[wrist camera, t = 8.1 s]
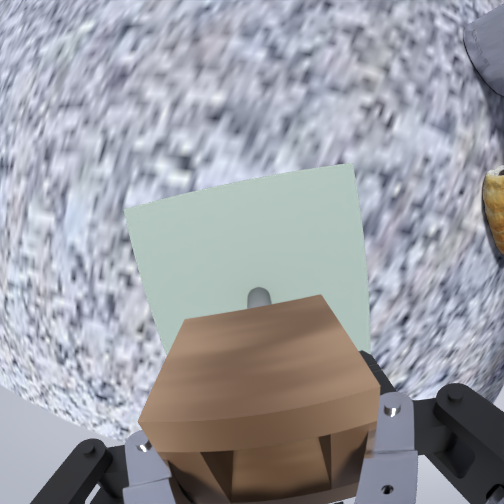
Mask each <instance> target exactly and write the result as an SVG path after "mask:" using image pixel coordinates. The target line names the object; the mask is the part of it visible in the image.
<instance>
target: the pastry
mask: <svg viewBox="0 0 504 504" xmlns="http://www.w3.org/2000/svg"><path fill="white" fill-rule="evenodd" d="M483 200H484V203H485V213H486V216H487V220H488V222H489V227H490V229H491V232H492V235H493V238H494V241H495V244H496V247H497V248H498V249H499V251H500V252H501V253H502V254H503V255H504V165H501V166H499V167H498V168H496V170H495V171H494V170H490V171H488V172H487V174H486V177H485V182H484V186H483Z"/></svg>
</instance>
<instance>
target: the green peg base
mask: <svg viewBox="0 0 504 504" xmlns="http://www.w3.org/2000/svg"><path fill="white" fill-rule="evenodd" d="M124 213H125V217H126V222H127V226H128V231H129V235H130V239H131V243H132V247H133V251H134V255H135V258H136V262H137V266H138V269H139V273H140V276H141V280H142V283H143V287H144V290H145V293H146V296H147V300H148V303H149V306H150V309H151V312H152V315H153V318H154V321H155V324H156V327H157V330H158V333H159V336H160V338H161V341H162V344H163V347H164V349H165V352H166V355H168V353H169V351H170V349H171V347H172V345H173V343H174V340H175V338H176V336H177V334H178V332H179V330H180V328H181V326H182V324H183V321H184V319H189V318H195V317H202V316H208V315H214V314H220V313H226V312H232V311H238V310H244V309H249V308H255V307H260V306H265V305H271V304H276V303H281V302H286V301H291V300H296V299H301V298H305V297H310V296H315V295H319V294H321V295H322V296H323V298H324V299H325V301H326V302H327V304H328V305H329V307H330V308H331V310H332V311H333V313H334V314H335V316H336V317H337V319H338V320H339V322H340V323H341V325H342V326H343V328H344V329H345V331H346V333H347V334H348V336H349V337H350V339H351V340H352V342H353V343H354V345H355V346H356V348H357V350H358V351H361V350H363V351H365V352H367V353H369V354H370V311H369V291H368V277H367V265H366V254H365V244H364V235H363V227H362V219H361V212H360V205H359V198H358V192H357V186H356V180H355V174H354V169H353V164H352V163H348V164H340V165H333V166H326V167H319V168H312V169H306V170H300V171H293V172H288V173H282V174H276V175H270V176H265V177H260V178H254V179H249V180H244V181H239V182H234V183H230V184H225V185H220V186H216V187H211V188H207V189H202V190H198V191H193V192H189V193H185V194H181V195H177V196H173V197H169V198H165V199H161V200H157V201H153V202H149V203H146V204H142V205H138V206H135V207H131V208H128V209H124Z"/></svg>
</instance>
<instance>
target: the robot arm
mask: <svg viewBox="0 0 504 504" xmlns="http://www.w3.org/2000/svg"><path fill="white" fill-rule="evenodd" d="M463 38H464V42H465V46H466V49H467V52H468V54H469V56H470V58H471V60H472V62H473V64H474V66H475V67H476V69H477V71H478V72H479V74H480V75H481V76H482V78H483V79H484V80H485V82H486V83H487V84H488V85H489V86H490V87H491V88H492V89H493V90H494V91H495V92H497V93H498V94H500V95H502V96H504V4H502V5H500V6H499V7H497V8H495V9H493V10H492V11H490V12H488V13H486V14H485V15H483V16H481V17H480V18H478V19H476V20H475V21H473V22H472V23H470V24H468V25H467V26H466V27H465V28H464V32H463ZM359 353H360V354H361V356H362V357H363V359H364V361H365V362H366V364H367V365H368V367H369V369H370V370H371V372H372V373H373V375H374V376H375V378H376V380H377V381H378V383H379V385H380V386H381V387H380V400H379V410H378V419H377V428H376V429H375V430H372V431H369V432H368V439H367V445H366V451H365V455H364V460H363V466H362V471H361V476H360V481H359V485H358V490H357V494H356V499H355V503H354V504H415V503H416V491H417V473H418V455H425V456H426V457H427V458H428V459H429V460H430V461H431V462H432V463H433V465H434V466H435V467H436V468H437V469H438V470H439V471H440V472H441V473H442V474H443V475H444V476H445V477H446V478H447V479H448V481H449V482H451V484H452V485H453V486H454V487H455V488H456V489H457V490H458V491H459V492H460V493H461V494H462V495H463V497H464V498H465V499H466V500H467V501H468V502H469V503H470V504H504V412H503V411H501V410H500V409H499V408H497V407H496V406H495V405H493V404H492V403H490V402H489V401H488V400H486V399H485V398H483V397H482V396H481V395H479V394H478V393H476V392H475V391H474V390H472V389H471V388H469V387H468V386H466V385H464V384H460V383H452V384H448V385H446V386H444V387H442V388H441V389H440V390H439V391H438V393H437V395H436V398H432V399H425V400H412V399H411V398H410V397H409V396H407V395H406V394H403V393H400V392H396V390H395V389H394V387H393V386H392V384H391V383H390V381H389V380H388V378H387V377H386V375H385V374H384V372H383V371H382V370H381V368H380V367H379V365H378V364H377V362H376V361H375V359H374V358H373V356H372V355H370V354H369V353H367V352H365V351H363V350H361V351H359ZM96 484H98V485H99V486H100V487H101V488H100V489H99V491H98V492H97V494H96V495H95V497H94V498H93V500H92V501H91V503H90V504H198V503H197V500H196V498H195V497H194V496H193V494H192V493H191V492H186V491H185V490H184V489H183V488H182V486H181V485H180V484H179V482H178V481H177V479H176V476H175V473H174V470H173V468H172V466H171V465H170V463H169V462H168V460H167V459H161V458H160V456H159V455H158V453H157V452H156V450H155V449H154V447H153V446H152V444H151V443H150V441H149V439H148V438H147V436H146V435H145V433H144V431H143V430H141V431H138V432H135V433H134V434H132V435H131V436H130V437H129V438H128V439H127V440H126V442H125V445H121V446H115V447H109V448H107V447H106V446H105V445H104V443H103V442H102V441H101V440H99V439H88V440H84V441H82V442H81V443H80V444H78V445H77V446H76V448H75V449H74V450H73V451H72V453H71V454H70V455H69V456H68V457H67V459H66V460H65V461H64V462H63V464H62V465H61V466H60V467H59V469H58V470H57V471H56V472H55V473H54V475H53V476H52V477H51V478H50V479H49V481H48V482H47V483H46V485H45V486H44V487H43V488H42V489H41V491H40V492H39V493H38V494H37V496H36V497H35V498H34V499H33V501H32V502H31V503H30V504H85V500H86V499H87V497H88V496H89V494H90V493H91V491H92V490H93V488H94V487H95V485H96ZM335 504H343V502H339V503H335Z"/></svg>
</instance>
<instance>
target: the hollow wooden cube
mask: <svg viewBox="0 0 504 504" xmlns="http://www.w3.org/2000/svg"><path fill="white" fill-rule="evenodd" d="M380 387H381V386H380V385H379V383H378V381H377V380H376V378H375V376H374V375H373V373H372V372H371V370H370V369H369V367H368V365H367V364H366V362H365V361H364V359H363V357H362V356H361V354H360V353H359V351H358V350H357V348H356V346H355V345H354V343H353V342H352V340H351V339H350V337H349V336H348V334H347V333H346V331H345V329H344V328H343V326H342V325H341V323H340V322H339V320H338V319H337V317H336V316H335V314H334V313H333V311H332V310H331V308H330V307H329V305H328V304H327V302H326V301H325V299H324V298H323V296H322V295H321V294H319V295H315V296H310V297H305V298H301V299H296V300H291V301H286V302H281V303H276V304H271V305H265V306H260V307H255V308H249V309H244V310H238V311H232V312H226V313H220V314H214V315H208V316H202V317H195V318H189V319H184V321H183V324H182V326H181V328H180V330H179V332H178V334H177V336H176V338H175V340H174V343H173V345H172V347H171V349H170V351H169V353H168V355H167V357H166V360H165V362H164V364H163V366H162V368H161V371H160V373H159V375H158V377H157V379H156V381H155V384H154V386H153V388H152V390H151V393H150V395H149V397H148V399H147V401H146V404H145V406H144V408H143V411H142V413H141V415H140V417H139V420H138V423H139V425H140V426H141V428H142V430H143V431H144V433H145V435H146V436H147V438H148V439H149V441H150V443H151V444H152V446H153V447H154V449H155V450H156V452H157V453H158V455H159V456H160V458H161V459H167V460H168V462H169V463H170V465H171V466H172V468H173V470H174V473H175V476H176V479H177V481H178V482H179V484H180V485H181V486H182V488H183V489H184V490H185V491H186V492H191V493H192V494H193V496H194V497H195V498H196V500H197V503H198V504H328V503H332V502H336V501H341V500H344V499H348V498H352V497H355V496H356V494H357V490H358V485H359V481H360V476H361V471H362V466H363V460H364V455H365V451H366V445H367V439H368V432H369V431H372V430H375V429H376V428H377V419H378V410H379V400H380Z"/></svg>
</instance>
